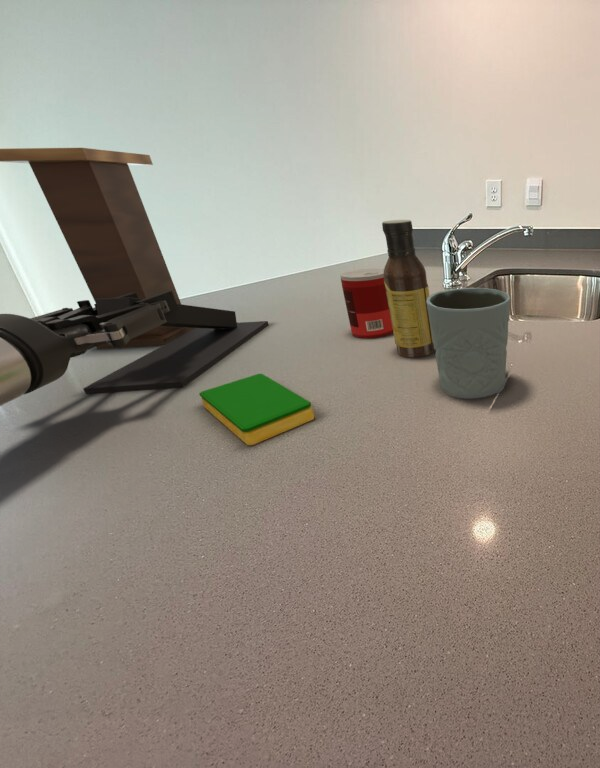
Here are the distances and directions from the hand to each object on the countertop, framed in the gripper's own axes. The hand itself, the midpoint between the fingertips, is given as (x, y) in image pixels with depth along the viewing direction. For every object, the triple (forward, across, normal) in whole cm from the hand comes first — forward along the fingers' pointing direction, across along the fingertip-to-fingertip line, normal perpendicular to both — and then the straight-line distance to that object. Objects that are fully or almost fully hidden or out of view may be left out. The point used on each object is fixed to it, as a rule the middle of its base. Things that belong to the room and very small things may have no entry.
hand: (154, 301), depth 59 cm
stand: (+15, -13, -10) cm, 22 cm away
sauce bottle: (-1, +36, -10) cm, 38 cm away
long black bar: (+3, 0, -5) cm, 6 cm away
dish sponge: (-19, +19, -10) cm, 29 cm away
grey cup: (-15, +45, -10) cm, 49 cm away
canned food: (+10, +28, -10) cm, 31 cm away
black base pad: (+4, 0, -10) cm, 11 cm away
